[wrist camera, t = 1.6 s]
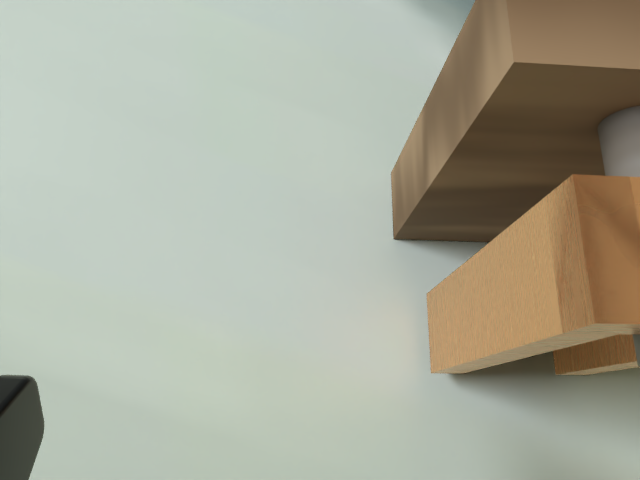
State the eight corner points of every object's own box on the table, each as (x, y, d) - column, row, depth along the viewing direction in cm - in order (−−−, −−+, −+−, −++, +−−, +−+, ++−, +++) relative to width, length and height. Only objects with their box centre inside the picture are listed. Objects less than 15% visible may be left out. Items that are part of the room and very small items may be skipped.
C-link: (586, 374, 21) (894, 329, 11) (431, 373, 21) (594, 323, 10) (575, 297, 22) (848, 185, 12) (426, 293, 22) (572, 174, 11)
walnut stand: (599, 389, 22) (956, 355, 11) (399, 388, 21) (548, 349, 10) (568, 180, 25) (824, -26, 13) (391, 173, 24) (500, -50, 13)
